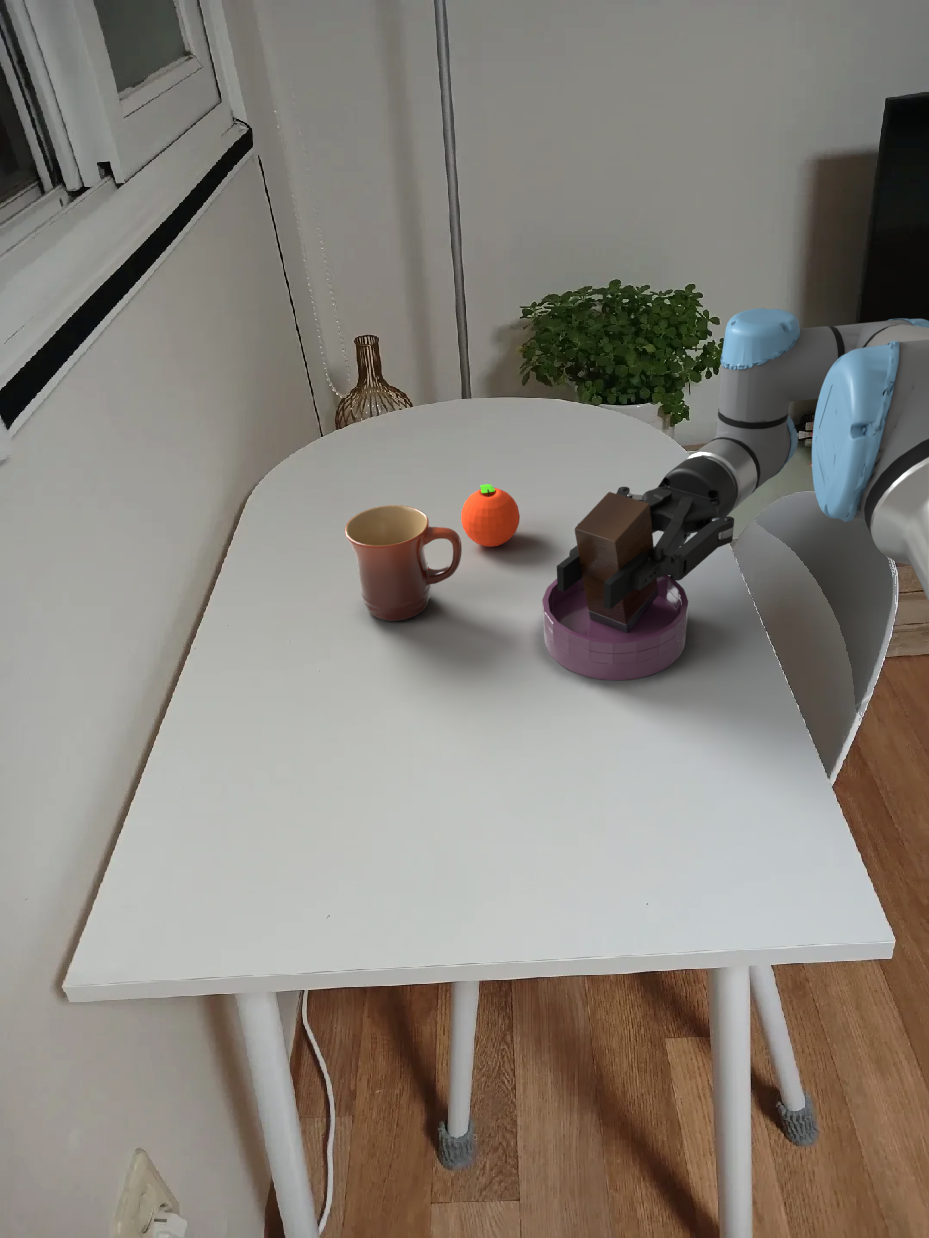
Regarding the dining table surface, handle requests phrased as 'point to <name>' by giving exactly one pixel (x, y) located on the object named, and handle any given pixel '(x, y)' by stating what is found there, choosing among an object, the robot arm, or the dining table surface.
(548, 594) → the bowl
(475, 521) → the clementine
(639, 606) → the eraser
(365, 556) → the mug
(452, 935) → the dining table surface
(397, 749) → the dining table surface
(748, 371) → the robot arm
